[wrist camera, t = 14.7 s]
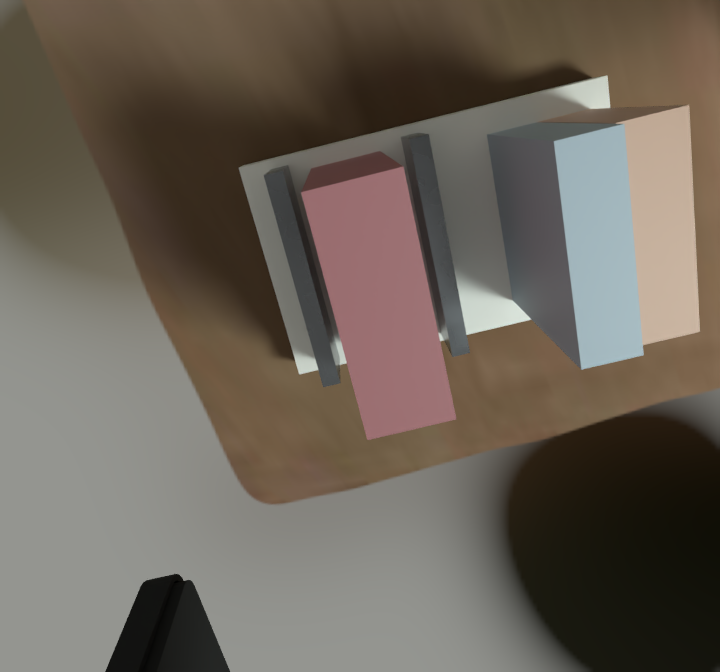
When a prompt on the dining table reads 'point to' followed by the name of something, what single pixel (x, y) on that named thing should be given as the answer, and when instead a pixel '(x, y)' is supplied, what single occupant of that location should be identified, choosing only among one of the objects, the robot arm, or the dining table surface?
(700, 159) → the dining table surface
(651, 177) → the standing books
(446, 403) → the pink flat block
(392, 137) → the shelf board
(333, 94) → the dining table surface
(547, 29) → the dining table surface
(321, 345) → the bookends
